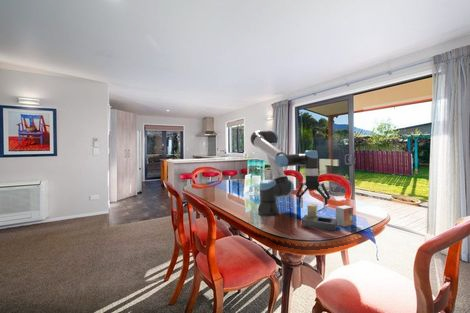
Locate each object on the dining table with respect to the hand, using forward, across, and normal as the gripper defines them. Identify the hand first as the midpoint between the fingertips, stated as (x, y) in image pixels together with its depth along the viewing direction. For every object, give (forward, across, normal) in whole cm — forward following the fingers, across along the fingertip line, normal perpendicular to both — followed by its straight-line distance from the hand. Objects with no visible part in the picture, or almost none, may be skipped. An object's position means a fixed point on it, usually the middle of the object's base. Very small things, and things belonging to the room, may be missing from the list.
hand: (313, 208), depth 128 cm
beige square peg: (+8, 0, 0) cm, 8 cm away
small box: (+8, +17, +2) cm, 19 cm away
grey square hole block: (+8, +4, -7) cm, 12 cm away
